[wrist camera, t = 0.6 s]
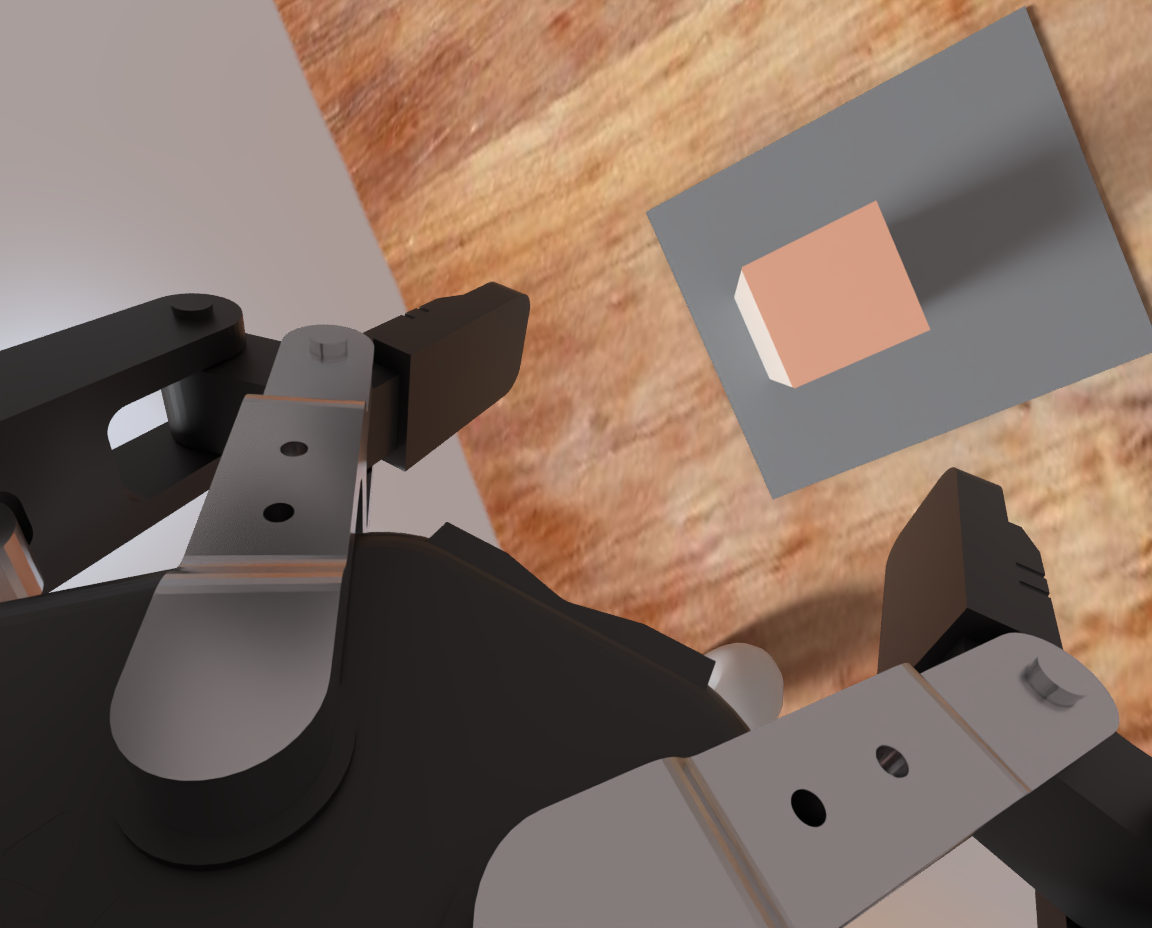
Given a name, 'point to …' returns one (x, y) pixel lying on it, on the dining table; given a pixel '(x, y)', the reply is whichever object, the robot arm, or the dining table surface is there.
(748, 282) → the block
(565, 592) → the dining table surface
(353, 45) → the dining table surface
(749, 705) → the donut
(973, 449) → the dining table surface
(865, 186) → the mat
